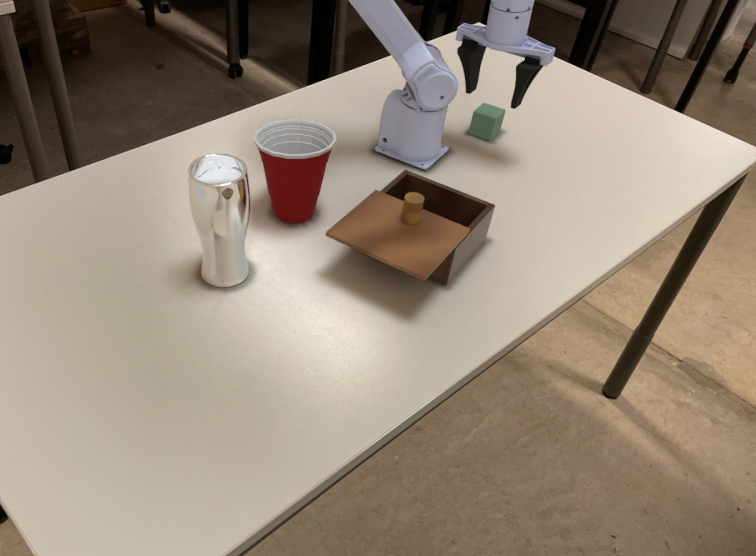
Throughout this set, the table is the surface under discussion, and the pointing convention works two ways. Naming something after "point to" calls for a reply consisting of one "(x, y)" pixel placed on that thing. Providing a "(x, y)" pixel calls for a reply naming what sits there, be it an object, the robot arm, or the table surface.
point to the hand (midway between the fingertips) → (492, 98)
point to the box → (448, 216)
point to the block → (486, 121)
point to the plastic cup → (294, 165)
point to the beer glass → (221, 216)
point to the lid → (399, 233)
